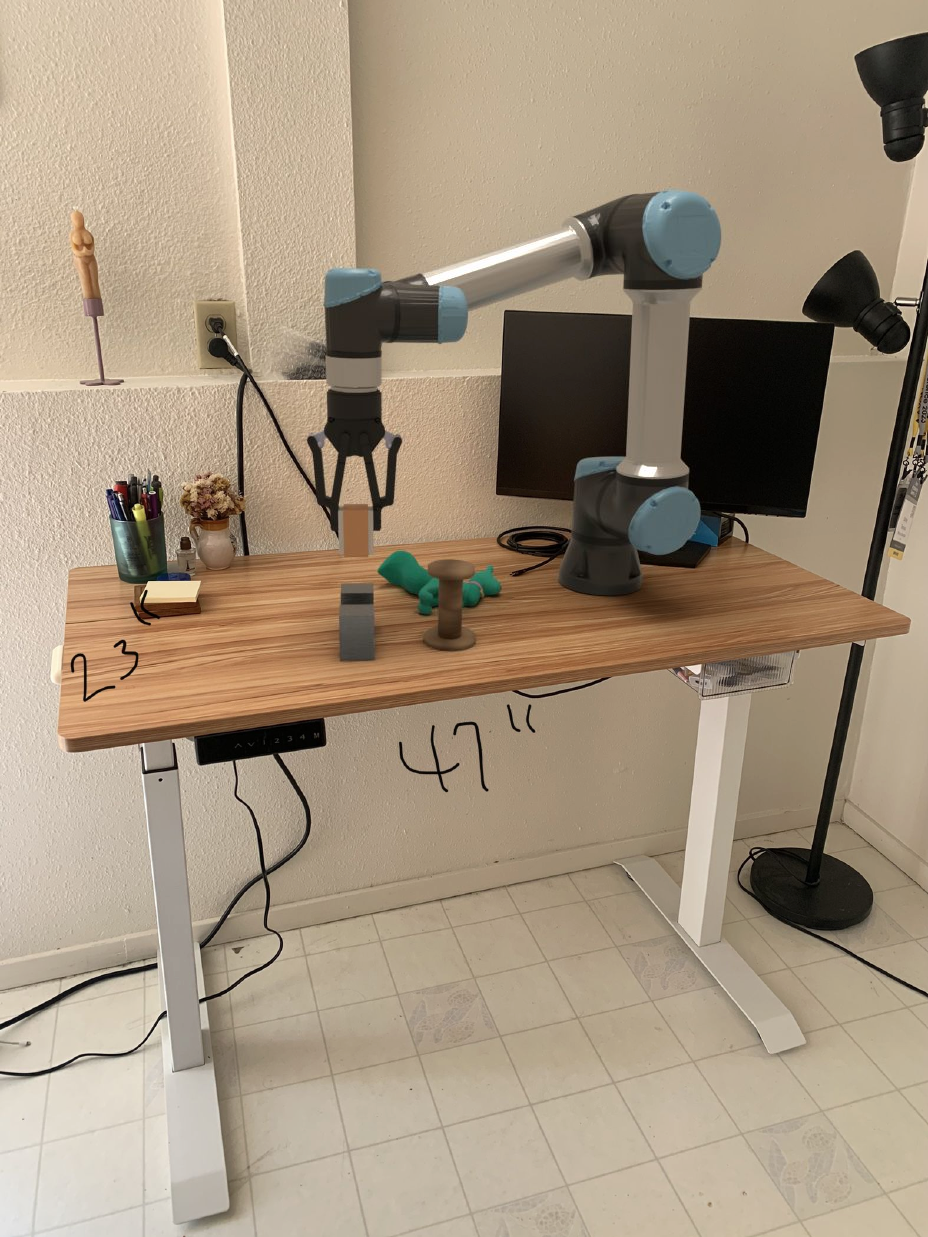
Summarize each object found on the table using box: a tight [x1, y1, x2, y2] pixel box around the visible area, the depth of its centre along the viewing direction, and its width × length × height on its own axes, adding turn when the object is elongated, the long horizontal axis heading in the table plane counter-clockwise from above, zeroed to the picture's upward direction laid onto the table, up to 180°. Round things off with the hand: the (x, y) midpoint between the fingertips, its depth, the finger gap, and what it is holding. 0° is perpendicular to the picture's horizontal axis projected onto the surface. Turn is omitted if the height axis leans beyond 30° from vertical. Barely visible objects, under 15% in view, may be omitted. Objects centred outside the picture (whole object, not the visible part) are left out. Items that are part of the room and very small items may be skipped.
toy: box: [376, 549, 503, 616], centre depth 160 cm, size 7×22×20 cm
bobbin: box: [422, 558, 477, 652], centre depth 140 cm, size 8×8×12 cm
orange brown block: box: [343, 503, 369, 558], centre depth 135 cm, size 4×4×7 cm
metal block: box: [338, 582, 376, 662], centre depth 139 cm, size 5×14×7 cm, turn 6°
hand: (356, 551), depth 135 cm, fingers closed on orange brown block, 3 cm apart
